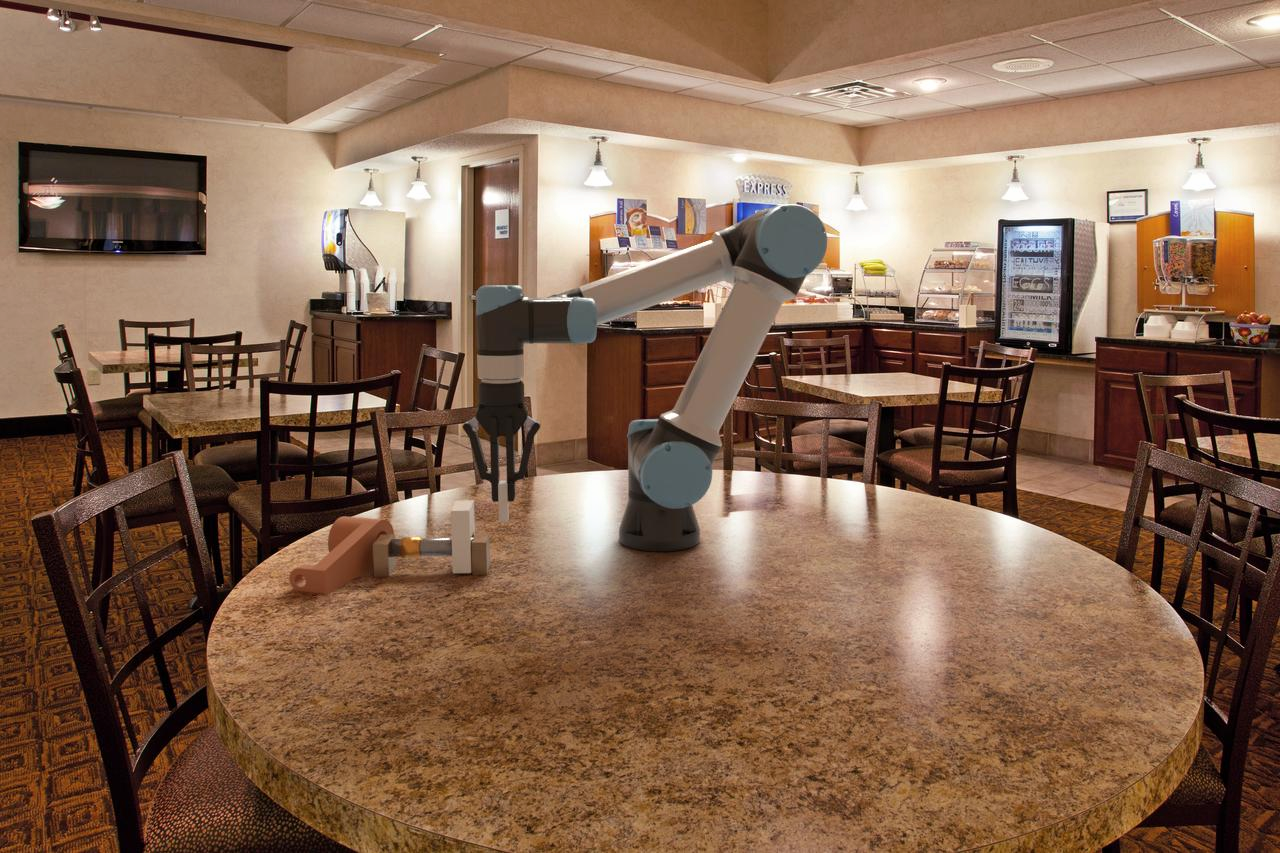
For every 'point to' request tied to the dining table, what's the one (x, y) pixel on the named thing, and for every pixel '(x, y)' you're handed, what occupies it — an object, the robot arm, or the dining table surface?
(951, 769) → the dining table surface
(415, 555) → the pipe rig
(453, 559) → the sleeve
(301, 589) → the crank
